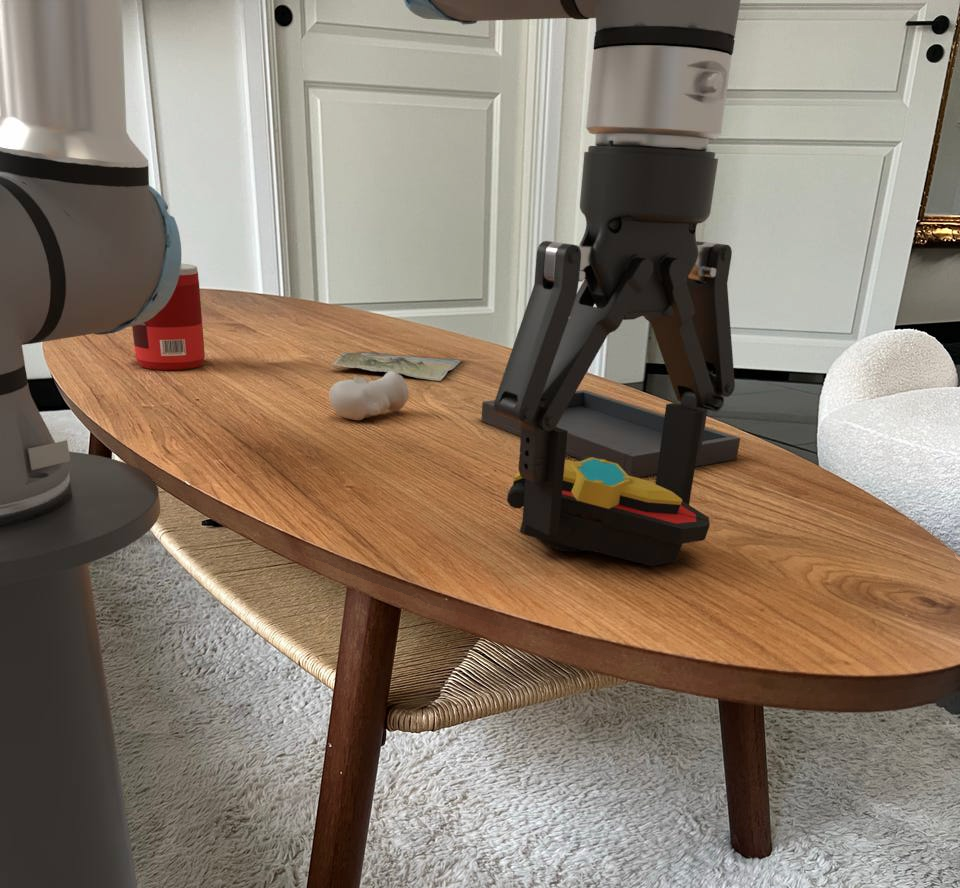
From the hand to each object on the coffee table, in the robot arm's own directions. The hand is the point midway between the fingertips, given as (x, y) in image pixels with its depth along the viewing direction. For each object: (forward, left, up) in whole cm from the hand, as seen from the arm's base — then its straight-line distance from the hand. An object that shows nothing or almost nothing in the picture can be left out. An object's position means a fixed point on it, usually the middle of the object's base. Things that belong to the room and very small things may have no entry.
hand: (608, 513), depth 62 cm
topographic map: (-60, +20, -3) cm, 63 cm away
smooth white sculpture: (-39, +4, -3) cm, 39 cm away
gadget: (0, 0, -3) cm, 3 cm away
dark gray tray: (-22, +20, -3) cm, 30 cm away
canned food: (-71, -5, -3) cm, 71 cm away
